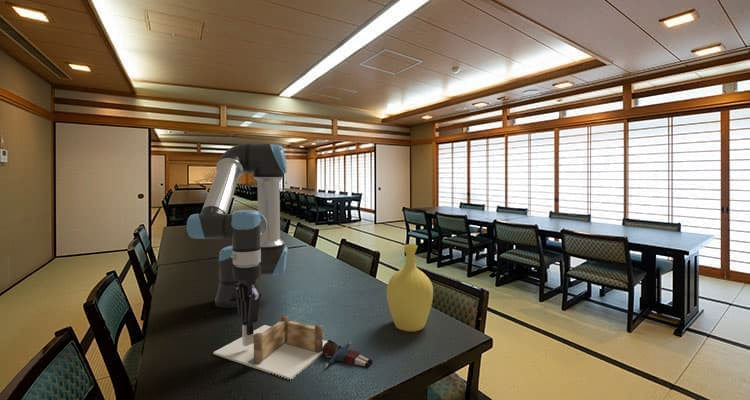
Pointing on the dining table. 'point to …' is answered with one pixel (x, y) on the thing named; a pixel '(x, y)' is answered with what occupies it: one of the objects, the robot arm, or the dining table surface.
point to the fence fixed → (306, 335)
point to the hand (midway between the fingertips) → (248, 343)
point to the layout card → (271, 356)
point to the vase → (410, 294)
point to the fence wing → (270, 339)
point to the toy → (344, 354)
